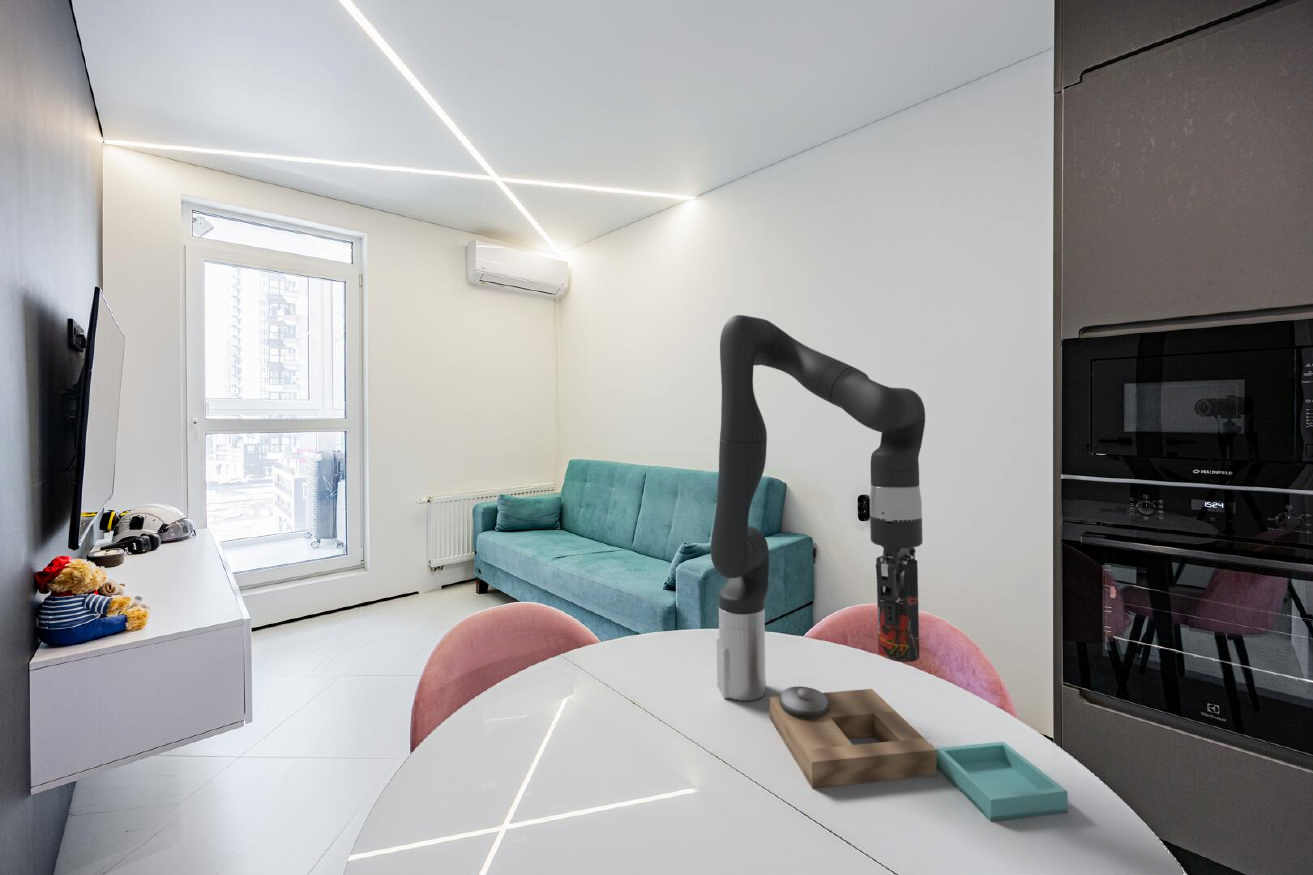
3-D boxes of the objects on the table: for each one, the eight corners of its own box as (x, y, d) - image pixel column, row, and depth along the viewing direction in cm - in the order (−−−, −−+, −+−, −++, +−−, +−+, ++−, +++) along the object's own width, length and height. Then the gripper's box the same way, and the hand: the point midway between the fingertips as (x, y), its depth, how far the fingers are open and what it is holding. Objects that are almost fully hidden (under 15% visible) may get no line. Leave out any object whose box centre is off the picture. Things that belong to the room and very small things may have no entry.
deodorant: (871, 647, 88) (869, 556, 88) (906, 645, 88) (904, 554, 88) (890, 663, 82) (888, 565, 82) (927, 660, 82) (925, 563, 82)
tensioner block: (812, 788, 80) (811, 743, 80) (769, 717, 99) (768, 681, 99) (936, 775, 82) (936, 731, 82) (871, 708, 102) (870, 673, 101)
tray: (990, 821, 73) (990, 799, 73) (936, 766, 84) (936, 748, 84) (1067, 812, 74) (1067, 790, 74) (1003, 759, 86) (1003, 741, 86)
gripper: (883, 506, 93) (886, 602, 93) (856, 518, 81) (859, 628, 82) (931, 509, 88) (933, 610, 88) (909, 523, 77) (912, 639, 77)
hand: (898, 618), depth 85 cm, fingers closed on deodorant, 6 cm apart
